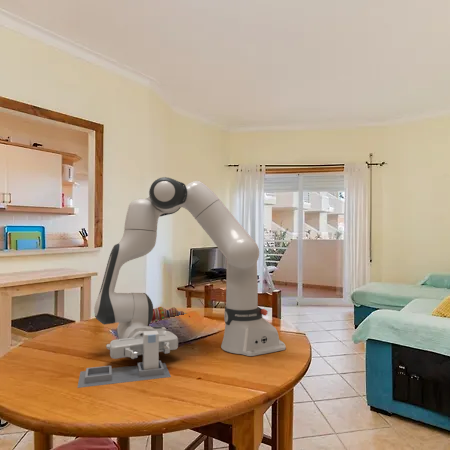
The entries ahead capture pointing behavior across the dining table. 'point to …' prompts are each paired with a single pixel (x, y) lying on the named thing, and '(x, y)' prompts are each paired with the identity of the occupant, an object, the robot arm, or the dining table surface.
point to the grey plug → (150, 350)
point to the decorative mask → (165, 313)
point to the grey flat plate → (120, 375)
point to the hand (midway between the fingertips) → (151, 353)
